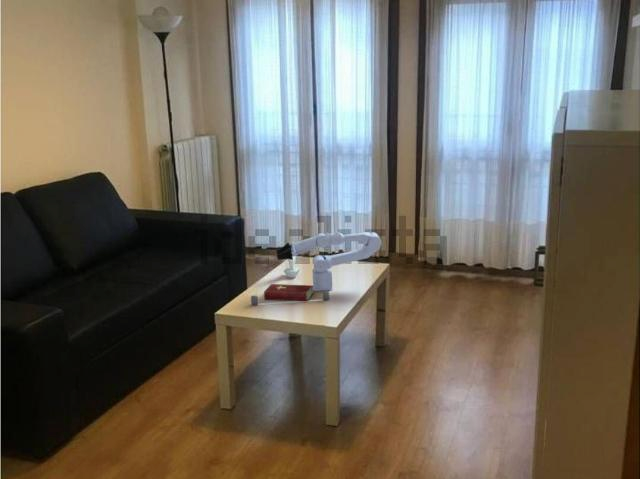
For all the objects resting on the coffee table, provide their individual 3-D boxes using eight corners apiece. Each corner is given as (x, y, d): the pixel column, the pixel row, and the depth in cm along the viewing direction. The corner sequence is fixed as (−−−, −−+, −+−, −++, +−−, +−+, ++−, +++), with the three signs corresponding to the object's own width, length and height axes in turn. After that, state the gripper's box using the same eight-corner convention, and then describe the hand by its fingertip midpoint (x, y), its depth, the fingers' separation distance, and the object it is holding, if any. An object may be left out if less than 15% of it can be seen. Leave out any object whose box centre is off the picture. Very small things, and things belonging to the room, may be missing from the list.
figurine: (301, 273, 346) (299, 246, 342) (297, 279, 337) (295, 250, 333) (287, 273, 347) (286, 245, 343) (283, 278, 338) (282, 250, 334)
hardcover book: (307, 301, 302) (307, 293, 301) (264, 299, 307) (263, 291, 306) (313, 293, 314) (313, 285, 313) (271, 291, 319) (271, 283, 318)
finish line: (328, 298, 306) (328, 290, 305) (329, 300, 303) (329, 292, 302) (251, 303, 302) (250, 295, 301) (251, 306, 299) (251, 297, 298)
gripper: (300, 234, 321) (274, 243, 321) (302, 243, 307) (274, 252, 307) (304, 247, 323) (278, 256, 323) (307, 256, 309) (279, 265, 309)
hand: (277, 255), depth 315 cm, fingers open, 7 cm apart
